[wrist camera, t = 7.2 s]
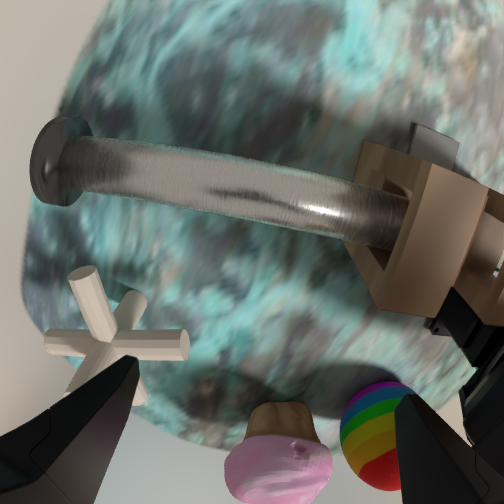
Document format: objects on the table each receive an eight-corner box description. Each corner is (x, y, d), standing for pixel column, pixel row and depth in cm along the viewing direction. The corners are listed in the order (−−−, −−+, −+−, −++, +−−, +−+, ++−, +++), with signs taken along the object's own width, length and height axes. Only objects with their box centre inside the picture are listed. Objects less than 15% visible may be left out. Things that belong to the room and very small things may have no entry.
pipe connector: (61, 245, 20) (-24, 322, 11) (185, 229, 20) (126, 329, 11) (104, 350, 25) (57, 439, 15) (213, 350, 24) (192, 462, 15)
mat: (457, 142, 16) (459, 142, 16) (411, 277, 20) (412, 280, 20) (415, 124, 16) (417, 124, 16) (370, 269, 20) (371, 271, 20)
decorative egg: (418, 404, 27) (446, 482, 18) (345, 431, 28) (359, 513, 19) (411, 357, 24) (451, 450, 15) (324, 390, 25) (339, 490, 16)
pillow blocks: (480, 184, 17) (561, 227, 10) (452, 260, 20) (515, 327, 12) (363, 139, 17) (432, 163, 9) (337, 232, 19) (378, 310, 12)
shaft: (420, 179, 14) (463, 203, 10) (396, 252, 15) (427, 292, 12) (80, 114, 13) (31, 121, 9) (76, 190, 15) (30, 215, 11)
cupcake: (306, 439, 29) (312, 521, 20) (224, 429, 29) (214, 515, 19) (337, 387, 25) (356, 486, 16) (239, 375, 25) (229, 482, 16)
